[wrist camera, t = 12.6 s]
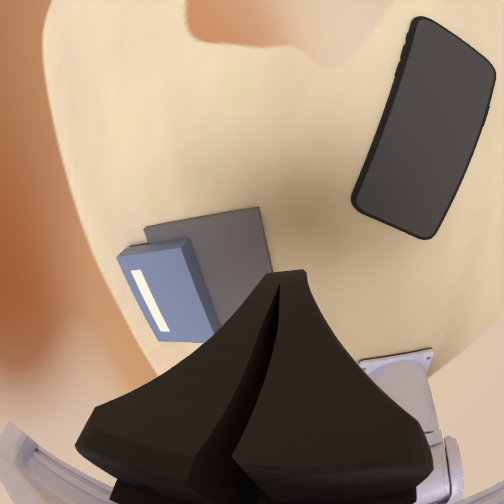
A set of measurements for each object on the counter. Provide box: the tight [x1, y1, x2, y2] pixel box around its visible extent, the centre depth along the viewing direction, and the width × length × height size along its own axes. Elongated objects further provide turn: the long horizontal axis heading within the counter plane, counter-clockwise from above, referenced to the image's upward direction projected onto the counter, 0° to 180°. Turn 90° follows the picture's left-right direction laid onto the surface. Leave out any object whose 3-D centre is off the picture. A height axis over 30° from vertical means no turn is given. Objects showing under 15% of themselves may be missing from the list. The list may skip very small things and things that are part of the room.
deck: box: [116, 238, 221, 342], centre depth 22 cm, size 9×2×6 cm
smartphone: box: [351, 16, 496, 240], centre depth 14 cm, size 7×1×15 cm
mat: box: [143, 207, 273, 343], centre depth 22 cm, size 12×9×1 cm
